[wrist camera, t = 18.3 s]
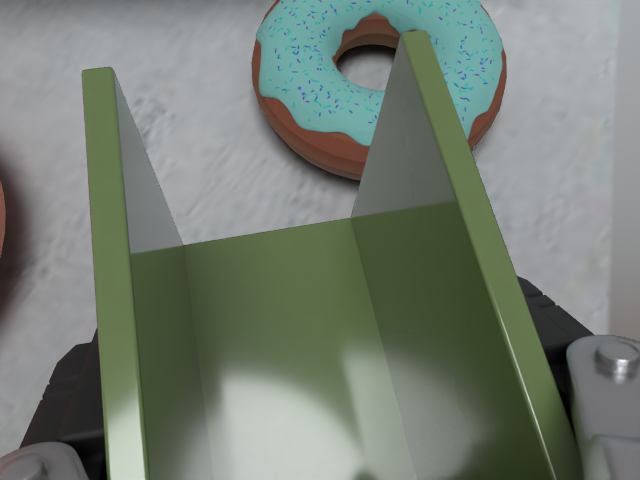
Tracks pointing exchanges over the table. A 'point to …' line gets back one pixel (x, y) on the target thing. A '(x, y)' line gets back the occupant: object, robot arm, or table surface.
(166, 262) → the green storage bin
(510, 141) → the table surface
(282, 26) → the donut
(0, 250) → the teapot
